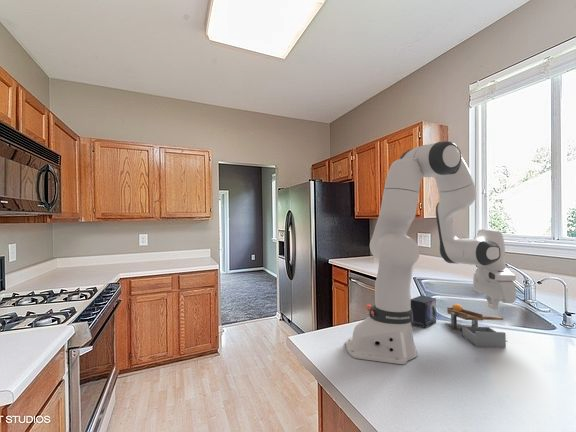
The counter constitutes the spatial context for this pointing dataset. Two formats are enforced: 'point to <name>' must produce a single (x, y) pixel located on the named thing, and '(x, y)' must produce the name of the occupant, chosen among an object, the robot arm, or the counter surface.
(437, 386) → the counter surface
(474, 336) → the bin
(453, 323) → the stand
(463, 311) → the brown wooden tray
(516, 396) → the counter surface
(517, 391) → the counter surface
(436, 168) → the robot arm
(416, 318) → the small box
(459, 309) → the ball
